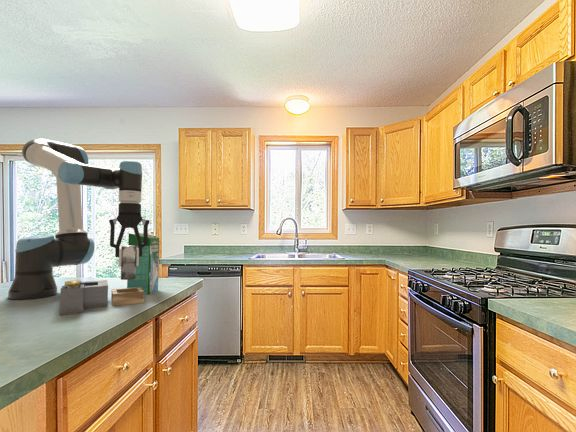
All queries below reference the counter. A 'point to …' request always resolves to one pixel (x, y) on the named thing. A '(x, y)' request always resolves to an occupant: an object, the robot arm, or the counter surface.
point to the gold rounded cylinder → (72, 284)
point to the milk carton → (146, 264)
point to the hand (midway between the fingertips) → (128, 265)
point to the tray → (127, 296)
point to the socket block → (83, 297)
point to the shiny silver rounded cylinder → (128, 262)
